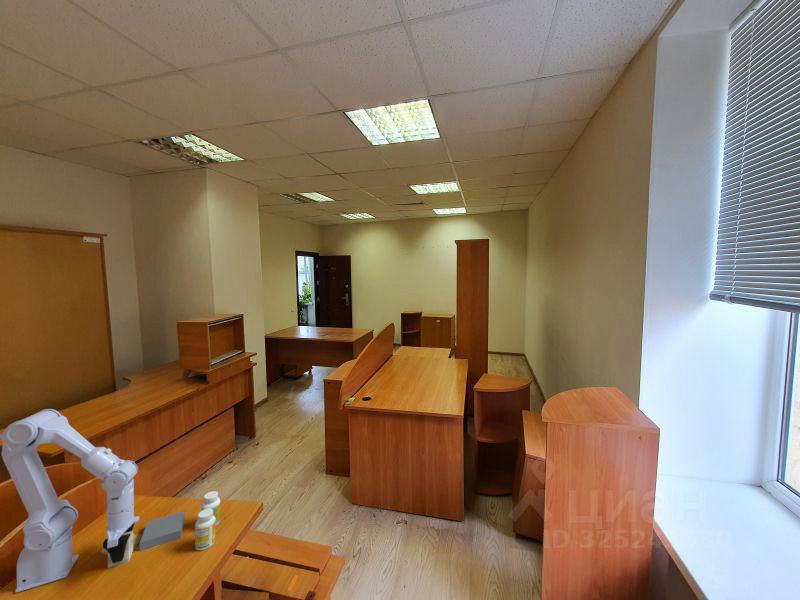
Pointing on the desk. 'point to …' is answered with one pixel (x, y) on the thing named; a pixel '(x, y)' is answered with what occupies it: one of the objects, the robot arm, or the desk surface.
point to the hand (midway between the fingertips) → (121, 554)
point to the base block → (162, 530)
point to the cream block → (127, 552)
